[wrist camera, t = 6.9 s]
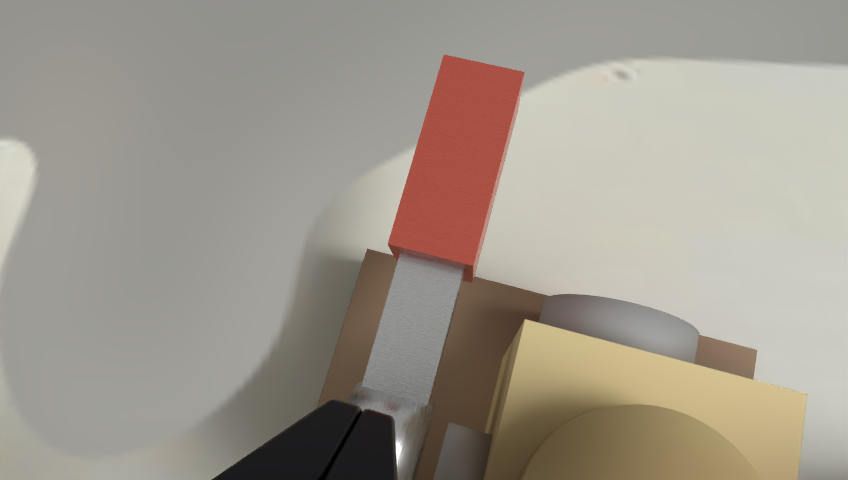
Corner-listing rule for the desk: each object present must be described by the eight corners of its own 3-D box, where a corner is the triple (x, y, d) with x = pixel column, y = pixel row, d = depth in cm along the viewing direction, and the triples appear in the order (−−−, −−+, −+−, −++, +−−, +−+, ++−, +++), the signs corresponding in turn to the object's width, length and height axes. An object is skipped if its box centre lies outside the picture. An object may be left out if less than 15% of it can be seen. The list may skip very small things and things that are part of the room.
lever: (401, 536, 12) (525, 67, 14) (307, 506, 12) (443, 49, 14) (412, 513, 14) (516, 115, 16) (333, 489, 14) (447, 99, 16)
